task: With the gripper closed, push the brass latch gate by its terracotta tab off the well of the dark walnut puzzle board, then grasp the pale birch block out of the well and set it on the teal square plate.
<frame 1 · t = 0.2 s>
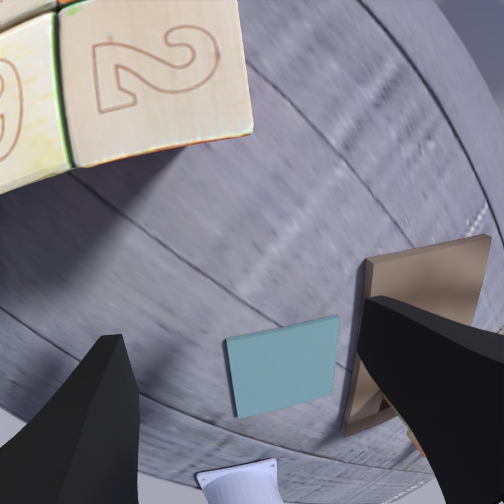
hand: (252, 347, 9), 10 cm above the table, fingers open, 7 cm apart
teal square plate: (284, 369, 23), on the table
stack of blocks: (9, 130, 13), on the table
puzzle board: (409, 369, 27), on the table
latch gate: (439, 401, 23), point 5 cm above the table, slide at 0.0 cm
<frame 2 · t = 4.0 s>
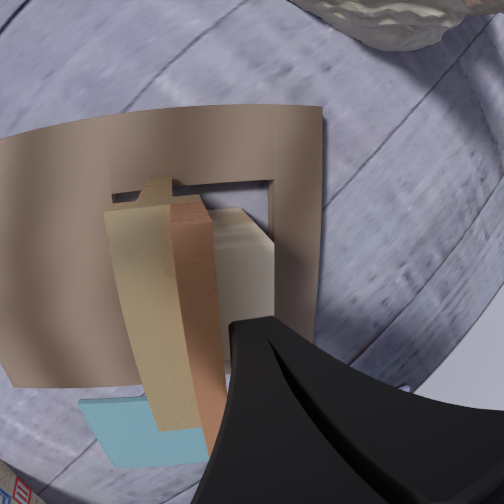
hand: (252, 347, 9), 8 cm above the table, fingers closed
teal square plate: (149, 434, 19), on the table
stack of blocks: (33, 503, 21), on the table
puzzle board: (197, 255, 16), on the table
latch gate: (170, 312, 11), point 5 cm above the table, slide at 1.4 cm, touching gripper
birch block: (197, 254, 16), resting in puzzle board
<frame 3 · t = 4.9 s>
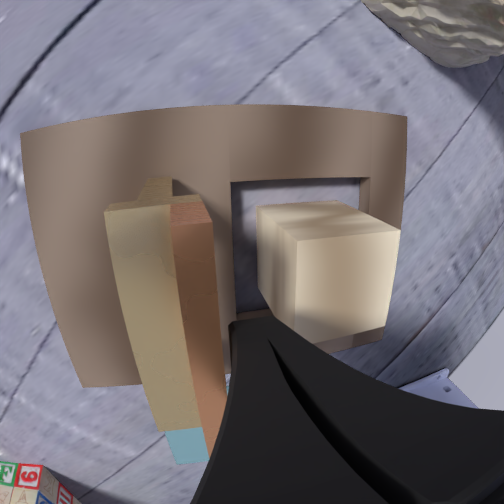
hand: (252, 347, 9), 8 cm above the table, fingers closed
teal square plate: (221, 425, 20), on the table
puzzle board: (297, 244, 17), on the table
latch gate: (170, 312, 11), point 5 cm above the table, slide at 6.6 cm, touching gripper
birch block: (297, 243, 17), resting in puzzle board
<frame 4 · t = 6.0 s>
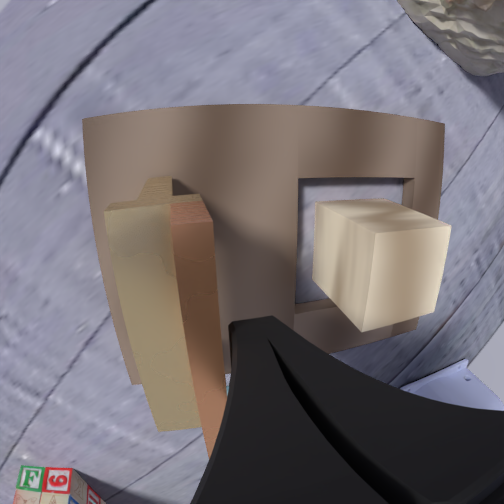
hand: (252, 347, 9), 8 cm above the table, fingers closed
puzzle board: (349, 238, 18), on the table
latch gate: (170, 312, 11), point 5 cm above the table, slide at 9.8 cm, touching gripper
birch block: (349, 238, 18), resting in puzzle board
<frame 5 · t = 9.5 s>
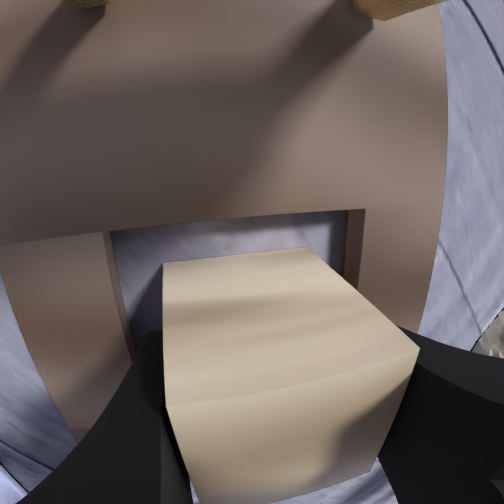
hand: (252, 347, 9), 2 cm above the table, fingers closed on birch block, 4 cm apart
puzzle board: (240, 318, 10), on the table
ceramic cottage: (494, 372, 19), on the table
birch block: (240, 317, 10), resting in puzzle board, touching gripper
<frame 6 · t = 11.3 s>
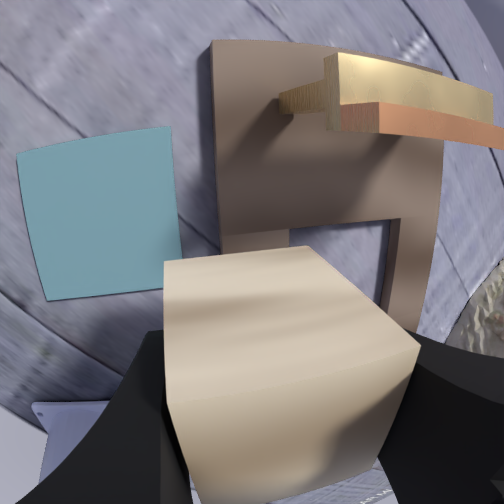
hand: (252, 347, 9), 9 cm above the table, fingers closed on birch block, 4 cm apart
teal square plate: (98, 217, 15), on the table
puzzle board: (338, 275, 19), on the table
latch gate: (404, 105, 11), point 5 cm above the table, slide at 9.8 cm
ceramic cottage: (485, 330, 28), on the table
birch block: (241, 316, 10), point 7 cm above the table, touching gripper
when the fingers open (3 cm above the table, at t = 13.2 s): birch block stays where it is, resting on teal square plate.
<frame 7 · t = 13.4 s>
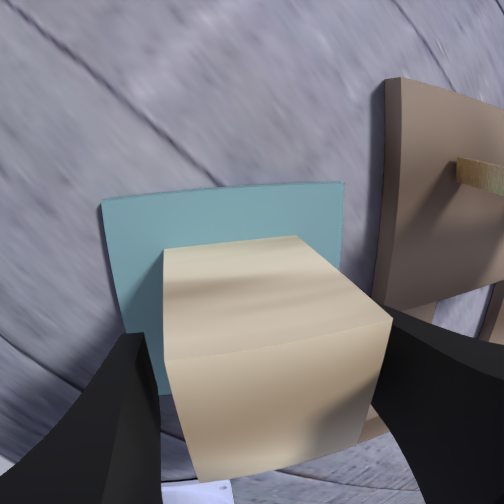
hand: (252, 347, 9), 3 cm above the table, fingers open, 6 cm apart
teal square plate: (232, 298, 12), on the table
puzzle board: (451, 334, 16), on the table
birch block: (235, 301, 11), resting on teal square plate
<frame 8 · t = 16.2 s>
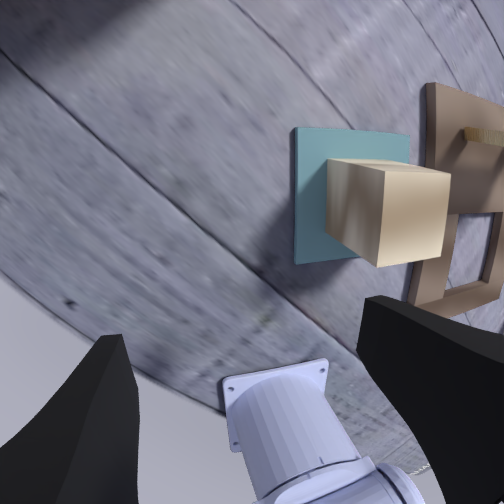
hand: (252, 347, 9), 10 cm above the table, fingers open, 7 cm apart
teal square plate: (354, 194, 19), on the table
puzzle board: (468, 249, 24), on the table
birch block: (358, 194, 19), resting on teal square plate
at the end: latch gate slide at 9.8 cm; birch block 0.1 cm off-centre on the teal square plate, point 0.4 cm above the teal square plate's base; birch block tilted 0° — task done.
